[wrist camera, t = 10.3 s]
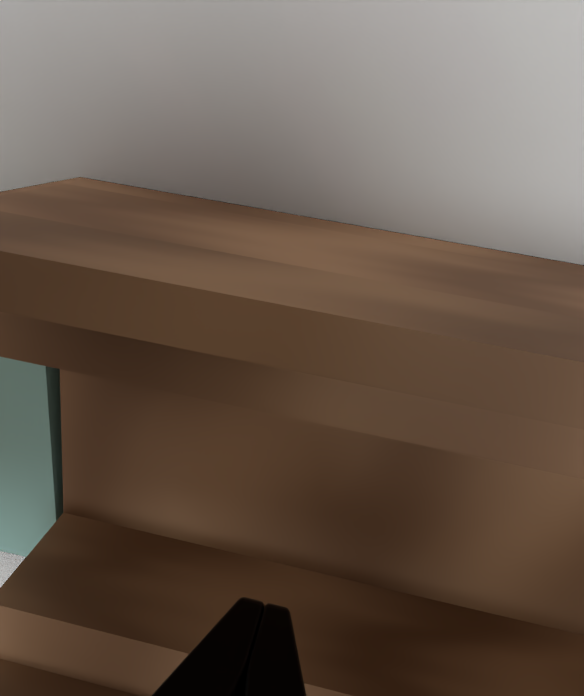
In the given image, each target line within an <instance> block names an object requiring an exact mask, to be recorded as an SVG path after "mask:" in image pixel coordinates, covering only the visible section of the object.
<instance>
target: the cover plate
mask: <svg viewBox="0 0 584 696" xmlns="http://www.w3.org/2000/svg"><path fill="white" fill-rule="evenodd" d="M62 514H63V476H62V438H61V399H60V369H57V368H52V367H47V366H42V365H38V364H33V363H28V362H23V361H19V360H14V359H9V358H4V357H0V551H3V552H7V553H12V554H16V555H21V556H25V557H27V556H28V554H29V553H30V552H31V551H32V550H33V548H34V547H35V546H36V545H37V544H38V542H39V541H40V540H41V539H42V538H43V536H44V535H45V534H46V533H47V532H48V530H49V529H50V528H51V527H52V526H53V524H54V523H55V522H56V521H57V520H58V518H59V517H60V516H61V515H62Z"/></svg>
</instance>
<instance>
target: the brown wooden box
mask: <svg viewBox="0 0 584 696" xmlns="http://www.w3.org/2000/svg"><path fill="white" fill-rule="evenodd" d="M0 357H4V358H9V359H14V360H19V361H23V362H28V363H33V364H38V365H42V366H47V367H52V368H57V369H60V399H61V438H62V476H63V514H62V515H61V516H60V517H59V518H58V520H57V521H56V522H55V523H54V524H53V526H52V527H51V528H50V529H49V530H48V532H47V533H46V534H45V535H44V536H43V538H42V539H41V540H40V541H39V542H38V544H37V545H36V546H35V547H34V548H33V550H32V551H31V552H30V553H29V554H28V556H27V557H26V558H25V559H24V560H23V562H22V563H21V564H20V565H19V566H18V568H17V569H16V570H15V571H14V572H13V574H12V575H11V576H10V577H9V578H8V580H7V581H6V582H5V583H4V584H3V586H2V587H1V588H0V696H151V695H152V694H153V693H154V692H155V691H156V690H157V689H158V688H159V687H160V685H161V684H162V683H163V682H164V681H165V680H166V679H167V678H168V677H169V676H170V674H171V673H172V672H173V671H174V670H175V669H176V668H177V667H178V666H179V664H180V663H181V662H182V661H183V660H184V659H185V658H186V657H187V656H188V655H189V653H190V652H191V651H192V650H193V649H194V648H195V647H196V646H197V645H198V643H199V642H200V641H201V640H202V639H203V638H204V637H205V636H206V635H207V634H208V632H209V631H210V630H211V629H212V628H213V627H214V626H215V625H216V624H217V622H218V621H219V620H220V619H221V618H222V617H223V616H224V615H225V614H226V613H227V611H228V610H229V609H230V608H231V607H232V606H233V605H234V604H235V603H236V601H237V600H238V599H240V598H241V597H247V598H251V599H255V600H259V601H262V602H263V603H264V606H265V605H266V604H267V603H271V604H275V605H280V606H284V607H287V608H288V609H289V611H290V614H291V620H292V625H293V630H294V635H295V640H296V645H297V650H298V655H299V660H300V665H301V670H302V675H303V681H304V686H305V691H306V696H584V265H578V264H573V263H567V262H561V261H555V260H550V259H544V258H538V257H533V256H527V255H521V254H516V253H510V252H504V251H498V250H493V249H487V248H481V247H476V246H470V245H464V244H458V243H453V242H447V241H441V240H436V239H430V238H424V237H419V236H413V235H407V234H401V233H396V232H390V231H384V230H379V229H373V228H367V227H361V226H356V225H350V224H344V223H339V222H333V221H327V220H322V219H316V218H310V217H304V216H299V215H293V214H287V213H282V212H276V211H270V210H264V209H259V208H253V207H247V206H242V205H236V204H230V203H225V202H219V201H213V200H207V199H202V198H196V197H190V196H185V195H179V194H173V193H167V192H162V191H156V190H150V189H145V188H139V187H133V186H128V185H122V184H116V183H110V182H105V181H99V180H93V179H88V178H82V177H78V178H73V179H67V180H62V181H56V182H51V183H45V184H40V185H35V186H29V187H24V188H18V189H13V190H7V191H2V192H0Z"/></svg>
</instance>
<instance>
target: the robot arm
mask: <svg viewBox="0 0 584 696" xmlns="http://www.w3.org/2000/svg"><path fill="white" fill-rule="evenodd" d="M151 696H306V691H305V686H304V681H303V675H302V670H301V665H300V660H299V655H298V650H297V645H296V640H295V635H294V630H293V625H292V620H291V614H290V611H289V609H288V608H287V607H284V606H280V605H275V604H271V603H267V604H266V605H265V606H264V603H263V602H262V601H259V600H255V599H251V598H247V597H241V598H240V599H238V600H237V601H236V603H235V604H234V605H233V606H232V607H231V608H230V609H229V610H228V611H227V613H226V614H225V615H224V616H223V617H222V618H221V619H220V620H219V621H218V622H217V624H216V625H215V626H214V627H213V628H212V629H211V630H210V631H209V632H208V634H207V635H206V636H205V637H204V638H203V639H202V640H201V641H200V642H199V643H198V645H197V646H196V647H195V648H194V649H193V650H192V651H191V652H190V653H189V655H188V656H187V657H186V658H185V659H184V660H183V661H182V662H181V663H180V664H179V666H178V667H177V668H176V669H175V670H174V671H173V672H172V673H171V674H170V676H169V677H168V678H167V679H166V680H165V681H164V682H163V683H162V684H161V685H160V687H159V688H158V689H157V690H156V691H155V692H154V693H153V694H152V695H151Z"/></svg>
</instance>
